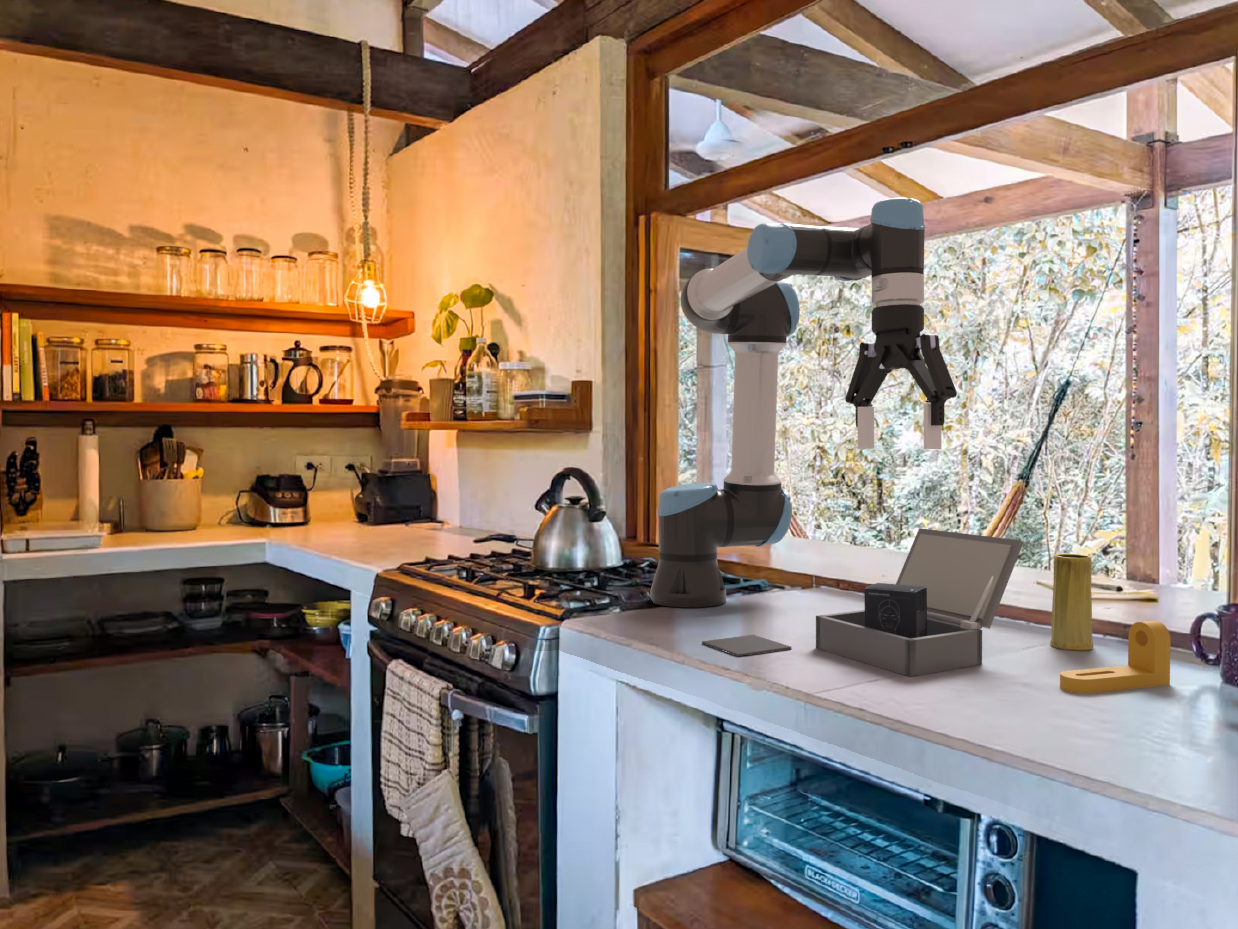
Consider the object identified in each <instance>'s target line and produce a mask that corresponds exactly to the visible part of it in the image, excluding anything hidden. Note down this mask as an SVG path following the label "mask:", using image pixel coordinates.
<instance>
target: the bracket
mask: <svg viewBox="0 0 1238 929" xmlns="http://www.w3.org/2000/svg"><path fill="white" fill-rule="evenodd" d="M1171 640H1172V639H1171V634H1170V632H1169V630H1168V628H1167V626H1166V625H1165V624H1164V623H1163V622H1161V621H1158V620H1149V621H1148V620H1146V621H1137V622H1134V623H1133V624H1132V625H1131V626H1130V628H1129V629H1128V645H1127V646H1128V647H1127V648H1128V649H1127V652H1128V653H1127V665H1125V664H1124V665H1119V666H1106V667H1105V666H1104V667H1095V668H1094V667H1093V668H1085V669H1074V670H1073V669H1072V670H1064V671H1061V672H1060V673H1059V687H1060V689H1061V690H1063V691H1066V692H1070V693H1076V694H1094V693H1106V692H1114V691H1126V690H1134V689H1143V688H1152V687H1161V686H1162V687H1163V686H1170V685H1171V644H1172V643H1171Z"/></svg>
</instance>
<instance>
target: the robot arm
mask: <svg viewBox="0 0 1238 929" xmlns="http://www.w3.org/2000/svg"><path fill="white" fill-rule="evenodd" d="M924 216H925V215H924V206H923V204H922V202H921V201H920V200H918V199H915V198H909V197H893V198H888V199H887V198H886V199H883V200H880V201H877V202H875V203H874V204H873V206H872V208H871V213H870V219H869V222H870V223H869V224H867V225H864V226H861V227H857V228H856V227H841V226H839V227H838V226H821V225H820V226H819V225H808V224H807V225H805V224H796V223H795V224H793V223H786V222H778V221H777V222H770V223H760V224H757V225H756V226H755V227H754V229H752V232H751V234H750V236H749V238H748V241H747V247H745V248H743V249H742V250H740V251H739V252H738V253H736V254H734V255H733V256H731V257H730V258H728V259H727V260H725V261H724V262H722V263H720V264H719V265H717V266H715V267H714V268H704V269H701V270H699V271H698V272H696V273H695V274H693V275H691V277H689V278H688V279H687V281H686V282H685V283H684V285H683V287H682V289H681V291H680V307H681V310H682V313H683V315H684V317H686V319H687V321H689V323H691V325H693V326H694V327H696V328H697V329H699V330H701V331H703V332H705V333H710V334H714V335H715V334H720V335H727V346H729V347H730V348H731V350H732V351H734V374H733V376H734V378H733V407H732V408H733V413H732V441H731V442H732V444H731V470H730V472H729V473H728V474H727V475H726V476H724V478H723V488H722V489H721V488H720V489H719V487H718V486H717V484H716V483H715V482H700V483H699V482H698V483H686V484H681V485H675V486H672V487H671V486H670V487H668V488H666V489H664V490H662V491H661V492H660V494H659V496H658V510H657V515H658V516H657V517H658V565H657V567H656V571H655V573H654V577H653V580H652V584H651V588H650V590H649V592H650V593H649V598H650V597H651V599H652V601H653V604H655V605H659V606H665V607H672V608H705V607H715V606H720V605H722V604H726V602H727V589H726V586H725V583H724V579H723V577H722V572H721V571H720V568H719V565H718V548H731V547H752V546H754V547H759V548H760V547H763V546H765V545H766V546H769V545H776V544H778V543H779V542H781V541H782V539H784V537H786V535H787V533H788V531H789V528H790V526H791V522H792V518H793V517H792V515H793V503H792V502H791V495H790V493H789V492H788V491H787V490H786V489H785V488H783V487H782V479H781V478H779V477H778V475H776V472H775V462H776V461H775V457H776V456H775V455H776V432H777V428H776V426H777V407H778V406H777V405H778V404H777V402H778V399H777V397H778V378H779V377H778V373H779V372H778V371H779V353H780V352H781V351H782V350H783V349H784V348H785V346H787V341H788V340H787V337H790V336H791V335H793V334H794V333H795V332H796V331H797V329H798V324H799V320H800V315H801V313H800V302H799V301H800V300H799V297H798V294H797V292H796V289H795V288H794V287H793V284H792V283H791V282H790V281H789V280H788V279H787V278H790V277H791V276H796V275H799V276H801V275H802V276H819V277H820V276H821V277H823V276H824V277H834V279H837V280H839V281H841V282H850V281H860V280H862V279H865V278H867V277H870V276H871V304H872V306H875V307H873V309H872V310H871V332H872V333H873V334H874V335H875V341H874V342H870V341H869V342H866V341H865V342H863V341H862V342H860V344H859V350H858V359H857V362H856V365H855V367H854V370H853V373H852V377H851V380H850V382H849V385H848V386H849V387H848V388H847V392H846V395H845V398H844V399H845V402H846V403H847V404H851V405H853V406H854V407H855V426H856V428H857V450H865V449H866V450H867V449H868V450H869V449H872V450H874V449H875V406H874V404H873V403H872V402H873V400H874V398H875V396H876V395H877V393H878V391H879V390H880V388H881V387H882V385H883V383H884V381H885V379H886V377H887V376H888V374H890V373H891V372H893V370H895V371H896V370H900V369H905V370H907V371H908V372H909V373H910V375H911V376H912V378H913V380H914V381H915V383H916V384H917V386H918V387H919V389H920V390H921V392H922V393H923V394H924V396H925V398H926V400H925V403H923V450H942V426H944V425H945V404H946V402H947V401H948V400H950V399H954V398H956V397H957V394H958V392H957V390H956V386H955V385H954V384H955V383H954V381H953V379H952V377H951V374H950V371H949V369H948V366H947V364H946V361H945V359H944V356H943V354H942V351H941V347H940V338H939V335H938V334H934V333H932V334H931V333H922V332H923V331H924V329H925V307H923V306H922V305H921V304H923V303H924V302H925V271H924V270H925V230H926V225H925V221H924V220H925V219H924ZM921 333H922V334H921ZM920 351H921V353H920ZM921 354H922V355H921Z"/></svg>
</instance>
